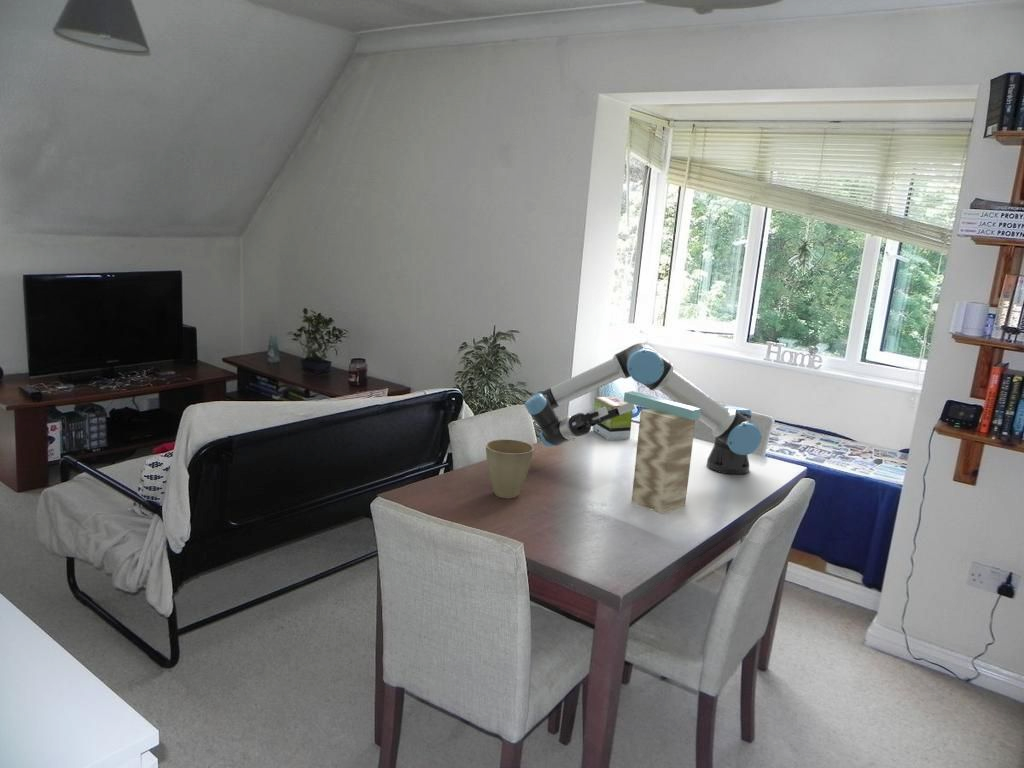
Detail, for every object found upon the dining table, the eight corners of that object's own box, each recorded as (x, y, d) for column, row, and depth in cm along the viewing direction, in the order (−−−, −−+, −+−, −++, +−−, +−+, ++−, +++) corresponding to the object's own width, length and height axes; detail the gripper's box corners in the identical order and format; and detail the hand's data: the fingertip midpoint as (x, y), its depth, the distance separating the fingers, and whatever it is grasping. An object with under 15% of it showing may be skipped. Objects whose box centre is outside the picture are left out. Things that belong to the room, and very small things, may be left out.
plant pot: (473, 492, 247) (475, 444, 243) (505, 483, 257) (508, 436, 254) (507, 506, 237) (510, 456, 233) (539, 496, 248) (543, 447, 244)
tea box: (591, 430, 329) (594, 396, 326) (612, 429, 333) (615, 395, 330) (609, 440, 316) (612, 405, 313) (630, 439, 320) (634, 404, 317)
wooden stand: (631, 501, 248) (640, 409, 242) (654, 494, 256) (664, 405, 250) (662, 513, 239) (672, 418, 233) (685, 505, 247) (696, 413, 241)
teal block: (623, 401, 251) (624, 392, 251) (631, 400, 254) (632, 391, 253) (692, 420, 233) (693, 410, 232) (699, 418, 236) (700, 408, 235)
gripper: (602, 431, 278) (647, 413, 263) (553, 441, 261) (598, 423, 246) (596, 411, 279) (640, 392, 264) (547, 420, 262) (591, 401, 247)
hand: (620, 407), depth 255 cm, fingers open, 13 cm apart
